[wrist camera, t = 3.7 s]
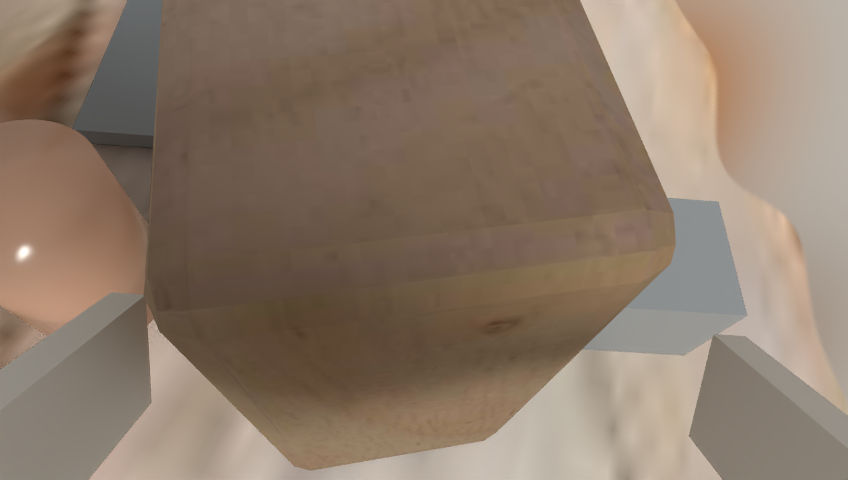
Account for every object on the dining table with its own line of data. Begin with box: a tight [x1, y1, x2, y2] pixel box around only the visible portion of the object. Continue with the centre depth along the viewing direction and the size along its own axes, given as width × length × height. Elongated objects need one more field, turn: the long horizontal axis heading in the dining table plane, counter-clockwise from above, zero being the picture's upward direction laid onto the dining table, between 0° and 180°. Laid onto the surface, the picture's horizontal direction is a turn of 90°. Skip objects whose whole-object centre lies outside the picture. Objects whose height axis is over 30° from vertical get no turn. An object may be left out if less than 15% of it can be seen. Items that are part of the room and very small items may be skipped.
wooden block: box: [144, 0, 676, 470], centre depth 20 cm, size 10×10×20 cm
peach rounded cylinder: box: [0, 119, 154, 336], centre depth 26 cm, size 8×7×9 cm
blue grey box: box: [583, 198, 747, 355], centre depth 29 cm, size 6×6×6 cm
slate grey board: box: [73, 0, 162, 148], centre depth 38 cm, size 18×16×1 cm
